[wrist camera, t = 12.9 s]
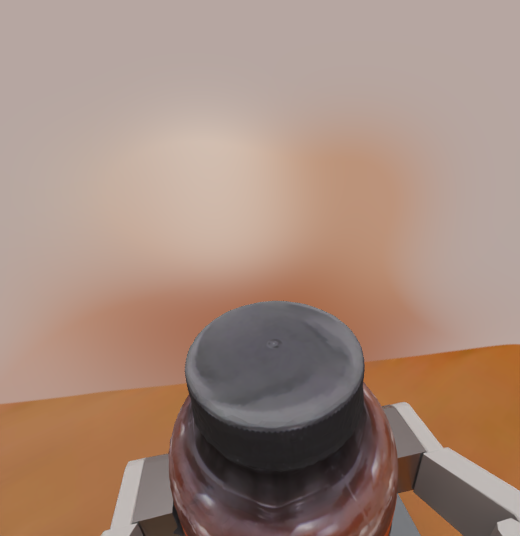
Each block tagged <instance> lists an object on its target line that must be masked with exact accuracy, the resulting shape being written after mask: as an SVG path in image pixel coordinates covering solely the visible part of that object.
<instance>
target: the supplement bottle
mask: <svg viewBox="0 0 520 536" xmlns="http://www.w3.org/2000/svg"><path fill="white" fill-rule="evenodd" d="M185 376H186V382H187V387H188V391H189V395H188V397H187V399H186V400H185V402H184V404H183V405H182V407H181V409H180V412H179V414H178V416H177V419H176V422H175V425H174V429H173V433H172V437H171V439H170V449H169V457H168V458H169V480H170V488H171V492H172V497H173V501H174V505H175V508H176V511H177V514H178V517H179V520H180V523H181V525H182V528H183V531H184V534H185V536H390V533H391V528H392V520H393V515H394V511H395V506H396V501H397V487H398V457H397V449H396V444H395V438H394V435H393V432H392V429H391V426H390V424H389V421H388V419H387V416H386V414H385V412H384V411H383V409H382V407H381V405H380V403H379V402H378V400H377V398H376V397H375V396H374V394H373V393H372V392H371V391H370V389H369V388H368V387H367V386H366V384H365V383H364V382H363V379H364V357H363V352H362V348H361V346H360V343H359V342H358V340H357V338H356V336H355V335H354V334H353V332H352V331H351V330H350V329H349V328H348V327H347V325H345V324H344V323H343V322H341V321H340V320H339V319H338V318H336V317H335V316H333V315H331V314H329V313H327V312H325V311H323V310H320V309H318V308H315V307H312V306H308V305H306V304H301V303H293V302H287V301H268V302H259V303H254V304H250V305H246V306H242V307H239V308H236V309H234V310H230V311H228V312H226V313H225V314H223V315H221V316H220V317H218V318H216V319H215V320H214V321H212V322H211V323H210V324H209V325H207V326H206V327H205V328H204V329H203V330H202V331H201V332H200V333H199V334H198V336H197V337H196V338H195V340H194V342H193V344H192V345H191V347H190V349H189V351H188V354H187V358H186V364H185Z"/></svg>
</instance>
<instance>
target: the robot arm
mask: <svg viewBox="0 0 520 536" xmlns="http://www.w3.org/2000/svg"><path fill="white" fill-rule="evenodd" d="M382 409H383V411H384V412H385V414H386V416H387V419H388V421H389V424H390V426H391V429H392V432H393V435H394V438H395V444H396V449H397V457H398V487H397V493H401V492H406V491H410V490H413V492H414V493H415V494H417V495H418V496H419V497H420V498H421V499H422V500H423V501H425V502H426V503H427V504H428V505H429V506H430V507H431V508H433V509H434V510H435V511H436V512H437V513H438V514H439V515H441V516H442V517H443V518H444V519H445V520H446V521H447V522H449V523H450V524H451V525H452V526H453V527H454V528H455V529H457V530H458V531H459V532H460V533H461V534H462V535H463V536H520V491H519V490H517V489H516V488H514V487H513V486H511V485H509V484H508V483H506V482H504V481H503V480H501V479H499V478H498V477H496V476H494V475H493V474H491V473H489V472H488V471H486V470H484V469H483V468H481V467H480V466H478V465H476V464H475V463H473V462H471V461H470V460H468V459H466V458H465V457H463V456H461V455H460V454H458V453H456V452H455V451H453V450H451V449H450V448H448V447H447V448H443V447H442V446H441V444H440V443H439V442H438V441H437V439H436V438H435V437H434V435H433V434H432V433H431V432H430V430H429V429H428V428H427V427H426V425H425V424H424V423H423V421H422V420H421V419H420V418H419V416H418V415H417V414H416V413H415V411H414V410H413V409H412V407H411V406H410V405H409V404H408V403H406V402H401V403H396V404H392V405H386V406H382ZM168 457H169V453H168V454H163V455H158V456H153V457H148V458H142V459H138V460H133V461H129V462H128V464H127V466H126V468H125V471H124V475H123V479H122V483H121V487H120V491H119V495H118V499H117V503H116V507H115V511H114V515H113V519H112V523H111V527H110V529H109V530H106V531H104V532H103V533H102V535H101V536H185V534H184V531H183V528H182V525H181V523H180V520H179V517H178V514H177V511H176V508H175V505H174V501H173V497H172V492H171V488H170V480H169V458H168Z"/></svg>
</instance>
